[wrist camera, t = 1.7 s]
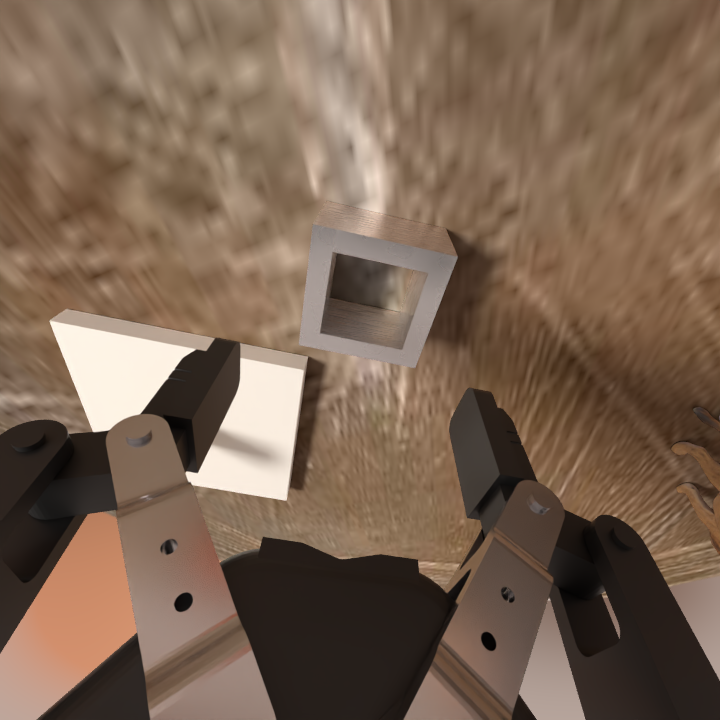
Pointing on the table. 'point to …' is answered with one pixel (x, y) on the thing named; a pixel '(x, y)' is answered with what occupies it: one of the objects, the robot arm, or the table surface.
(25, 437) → the robot arm
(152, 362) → the post board
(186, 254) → the table surface
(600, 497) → the table surface
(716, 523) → the lion figurine
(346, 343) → the steel collar
